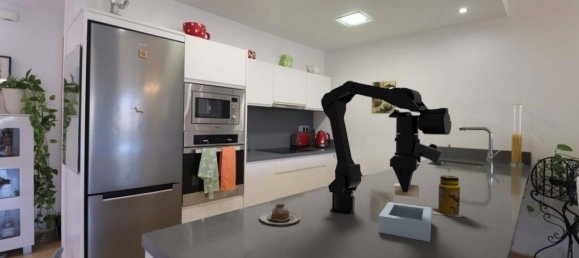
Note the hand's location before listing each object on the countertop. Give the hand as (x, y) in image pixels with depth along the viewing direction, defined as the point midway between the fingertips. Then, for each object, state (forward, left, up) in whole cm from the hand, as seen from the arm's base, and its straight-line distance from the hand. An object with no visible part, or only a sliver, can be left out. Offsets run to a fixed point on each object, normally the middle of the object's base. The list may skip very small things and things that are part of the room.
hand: (406, 190), depth 76 cm
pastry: (-33, -12, -11) cm, 37 cm away
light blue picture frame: (0, 0, -10) cm, 10 cm away
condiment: (+10, +22, -10) cm, 27 cm away
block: (0, 0, -1) cm, 1 cm away
